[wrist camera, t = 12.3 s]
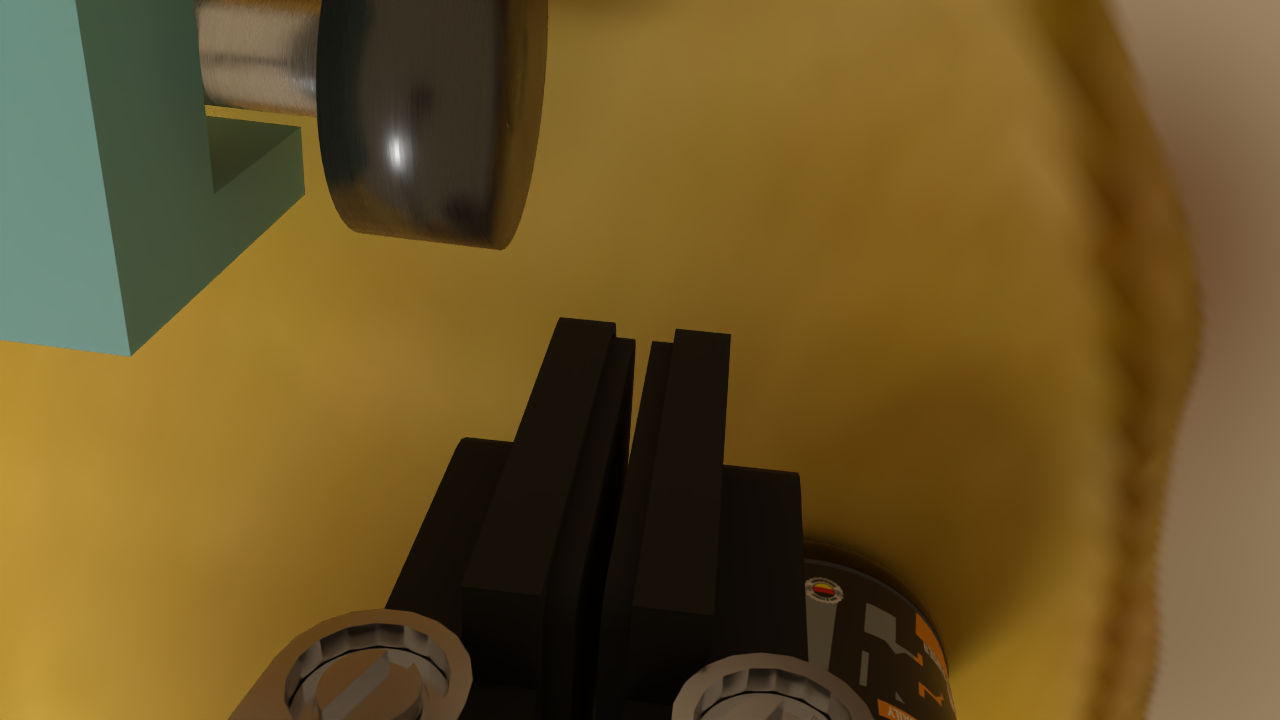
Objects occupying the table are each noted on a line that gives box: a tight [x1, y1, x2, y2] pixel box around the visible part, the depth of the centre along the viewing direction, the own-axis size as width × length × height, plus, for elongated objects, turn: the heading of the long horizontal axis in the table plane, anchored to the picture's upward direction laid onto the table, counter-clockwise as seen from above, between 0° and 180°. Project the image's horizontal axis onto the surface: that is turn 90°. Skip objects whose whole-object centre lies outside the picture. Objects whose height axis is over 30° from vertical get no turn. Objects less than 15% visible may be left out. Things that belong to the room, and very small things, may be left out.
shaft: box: [194, 0, 548, 250], centre depth 23 cm, size 7×19×7 cm, turn 85°
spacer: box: [0, 0, 305, 357], centre depth 22 cm, size 9×4×9 cm, turn 175°
